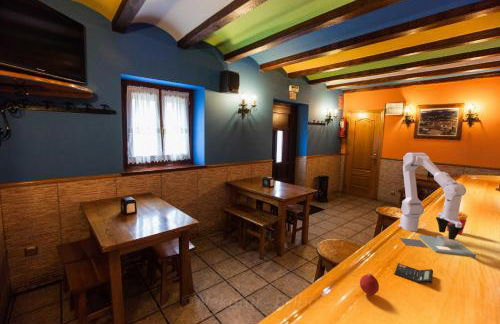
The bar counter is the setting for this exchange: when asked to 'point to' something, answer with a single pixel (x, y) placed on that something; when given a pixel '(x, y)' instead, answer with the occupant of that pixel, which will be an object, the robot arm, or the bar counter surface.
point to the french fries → (461, 221)
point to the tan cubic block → (445, 241)
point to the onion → (369, 284)
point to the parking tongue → (413, 242)
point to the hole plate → (438, 248)
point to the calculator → (414, 274)
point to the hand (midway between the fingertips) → (446, 235)
